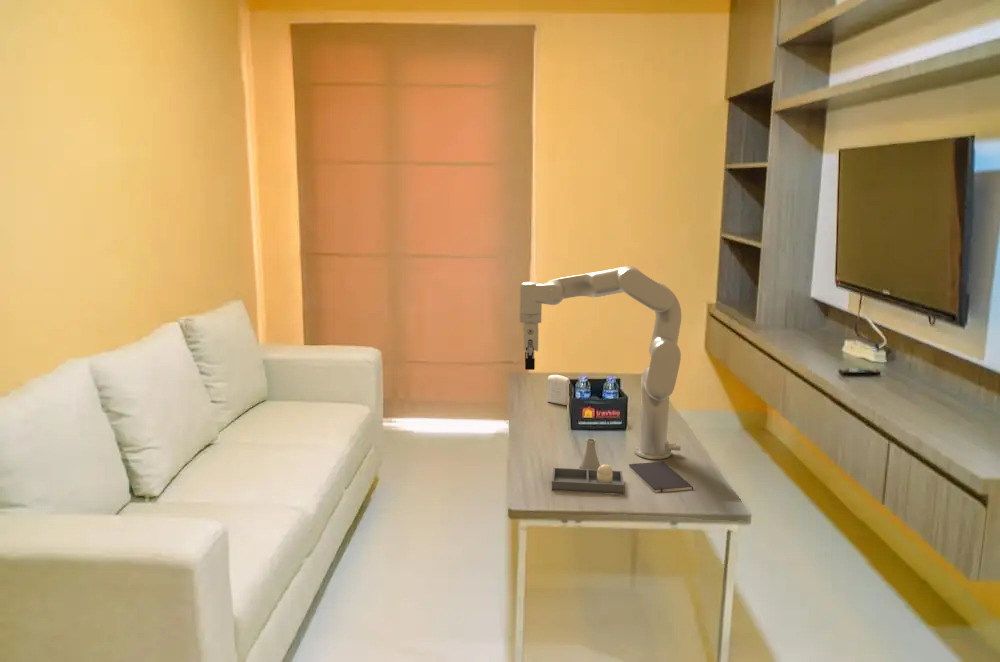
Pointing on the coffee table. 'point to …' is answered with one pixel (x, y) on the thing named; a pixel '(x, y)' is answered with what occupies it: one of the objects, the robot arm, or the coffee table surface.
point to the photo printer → (558, 389)
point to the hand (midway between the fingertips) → (529, 366)
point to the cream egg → (604, 474)
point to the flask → (590, 456)
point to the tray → (585, 481)
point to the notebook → (660, 477)
